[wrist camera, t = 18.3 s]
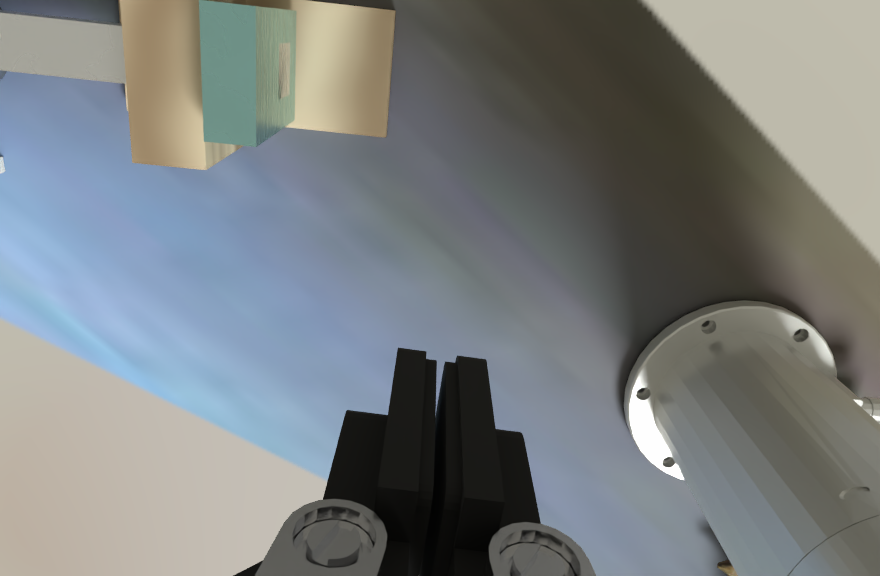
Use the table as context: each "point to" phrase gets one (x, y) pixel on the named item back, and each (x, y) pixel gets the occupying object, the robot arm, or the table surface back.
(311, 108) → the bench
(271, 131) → the mallet
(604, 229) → the table surface
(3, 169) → the cradle
